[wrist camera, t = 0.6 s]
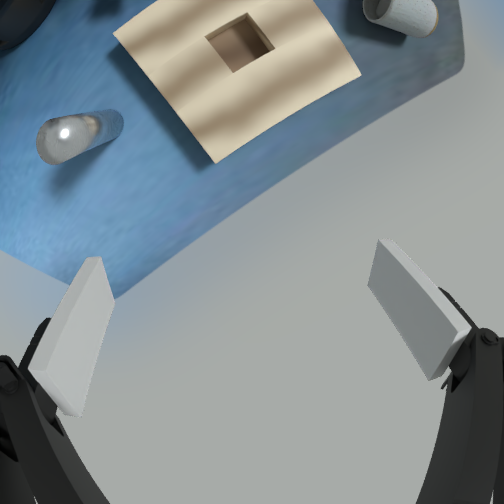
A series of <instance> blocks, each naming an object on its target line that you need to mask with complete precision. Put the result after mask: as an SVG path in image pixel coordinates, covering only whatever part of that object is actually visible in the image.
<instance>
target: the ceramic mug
mask: <svg viewBox="0 0 504 504" xmlns="http://www.w3.org/2000/svg"><path fill="white" fill-rule="evenodd" d="M363 11H364V15H365V17H366V18H367V19H368V20H369V21H371V22H372V23H376V24H379V25H382V26H385V27H388V28H390V29H393V30H396V31H399V32H402V33H404V34H406V35H409V36H412V37H417V38H424V37H427V36H428V35H430V34H431V33H432V32H433V31H434V30H435V28H436V25H437V23H438V11H437V8H436V6H435V4H434V3H433V2H432V1H431V0H363Z"/></svg>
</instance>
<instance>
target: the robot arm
mask: <svg viewBox="0 0 504 504" xmlns="http://www.w3.org/2000/svg"><path fill="white" fill-rule="evenodd" d="M54 3H55V0H0V50H6V49H10V48H12V47H14V46H16V45H18V44H20V43H21V42H22V41H24V40H25V39H26V38H28V37H29V36H30V35H31V34H32V33H33V32H34V31H35V30H36V29H37V28H38V27H39V25H40V24H41V23H42V22H43V20H44V19H45V18H46V16H47V15H48V13H49V12H50V10H51V8H52V6H53V5H54ZM368 287H369V288H370V290H371V291H372V292H373V293H374V295H375V297H376V298H377V300H378V301H379V303H380V304H381V305H382V307H383V309H384V310H385V312H386V313H387V315H388V316H389V318H390V319H391V321H392V322H393V324H394V325H395V327H396V329H397V330H398V331H399V333H400V335H401V336H402V338H403V339H404V341H405V343H406V344H407V346H408V347H409V349H410V351H411V352H412V354H413V356H414V357H415V359H416V360H417V362H418V364H419V365H420V367H421V369H422V370H423V372H424V374H425V376H426V377H427V379H428V381H430V380H433V379H435V378H438V377H440V376H442V375H443V374H444V372H445V370H446V369H447V367H448V366H449V367H450V369H451V371H452V372H451V373H450V375H449V376H448V378H447V379H446V381H445V382H444V383H443V385H442V387H441V389H443V388H444V387H445V386H446V384H447V389H446V397H445V403H444V408H443V414H442V418H441V422H440V427H439V432H438V435H437V440H436V443H435V447H434V451H433V454H432V458H431V461H430V464H429V468H428V471H427V474H426V477H425V480H424V483H423V486H422V488H421V492H420V494H419V497H418V499H417V502H416V504H490V501H491V497H492V492H493V504H504V338H503V337H502V338H499V337H498V336H497V335H496V334H495V333H494V332H493V331H491V330H490V329H487V328H481V329H479V328H478V327H477V326H476V325H475V323H474V322H473V321H472V320H471V319H470V317H469V316H468V315H467V314H466V313H465V311H464V310H463V309H462V308H460V306H459V305H458V303H457V302H455V300H454V299H453V298H452V297H451V295H450V294H449V293H447V292H446V291H444V290H443V289H442V288H440V287H436V285H435V284H434V283H433V282H432V281H431V280H430V279H429V278H428V277H427V275H426V274H425V273H424V272H423V271H422V270H421V269H420V268H419V267H418V266H417V265H416V264H415V263H414V262H413V261H412V260H411V259H410V258H409V257H408V256H407V255H406V254H405V253H404V252H403V251H402V250H401V249H400V248H399V247H398V246H397V245H396V244H395V243H394V242H393V241H392V240H391V239H380V240H378V243H377V248H376V252H375V257H374V261H373V265H372V269H371V274H370V278H369V282H368ZM114 306H115V301H114V298H113V295H112V292H111V288H110V285H109V282H108V279H107V276H106V272H105V269H104V265H103V262H102V258H101V257H87V258H86V260H85V261H84V263H83V265H82V266H81V268H80V269H79V271H78V273H77V274H76V276H75V278H74V279H73V281H72V283H71V284H70V286H69V288H68V290H67V291H66V293H65V295H64V297H63V298H62V300H61V302H60V304H59V306H58V308H57V309H56V311H55V313H54V315H53V317H52V318H46V319H45V320H44V321H43V322H42V323H41V324H40V325H39V327H38V328H37V330H36V332H35V334H34V337H33V338H32V340H31V342H30V345H29V346H28V348H27V350H26V352H25V354H24V356H23V358H22V360H21V362H20V365H19V367H17V366H16V365H15V363H14V362H13V360H12V359H11V358H10V357H9V356H7V355H1V356H0V504H36V502H35V499H36V501H37V502H38V504H110V503H109V501H108V500H107V499H106V497H105V496H104V495H103V493H102V492H101V490H100V489H99V487H98V486H97V484H96V483H95V481H94V480H93V478H92V477H91V475H90V474H89V472H88V471H87V469H86V467H85V466H84V464H83V462H82V461H81V459H80V457H79V456H78V454H77V452H76V450H75V449H74V447H73V445H72V443H71V441H70V439H69V438H68V436H67V434H66V432H65V430H64V428H63V426H62V424H61V422H60V420H59V418H58V417H57V415H56V410H57V407H58V408H59V409H60V410H61V411H62V412H63V413H64V415H69V416H75V417H82V413H83V409H84V405H85V400H86V397H87V393H88V389H89V385H90V381H91V378H92V374H93V371H94V367H95V363H96V361H97V357H98V354H99V351H100V347H101V344H102V341H103V338H104V335H105V332H106V329H107V326H108V323H109V320H110V318H111V315H112V312H113V309H114ZM34 497H35V498H34Z"/></svg>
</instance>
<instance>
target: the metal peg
mask: <svg viewBox="0 0 504 504" xmlns="http://www.w3.org/2000/svg"><path fill="white" fill-rule="evenodd" d="M123 127H124V121H123V117H122V116H121V114H120V113H119V112H118V111H116V110H111V109H110V110H102V111H94V112H87V113H81V114H75V115H69V116H63V117H58V118H53V119H50V120H48V121H46V122H45V123H44V124H43V125H42V126H41V128H40V130H39V132H38V135H37V139H36V146H37V151H38V154H39V156H40V157H41V159H42V160H43V161H45V162H46V163H48V164H51V165H57V164H60V163H62V162H64V161H67V160H69V159H71V158H73V157H75V156H77V155H79V154H81V153H83V152H85V151H88V150H90V149H92V148H94V147H96V146H99V145H101V144H103V143H106V142H108V141H110V140H113V139H115V138H117V137H118V136H119V135H120V134H121V132H122V130H123Z"/></svg>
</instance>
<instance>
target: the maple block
mask: <svg viewBox="0 0 504 504" xmlns="http://www.w3.org/2000/svg"><path fill="white" fill-rule="evenodd" d="M113 34H114V35H115V36H116V38H117V39H118V40H119V41H120V43H121V44H122V45H123V46H124V47H125V49H126V50H127V51H128V52H129V54H130V55H131V56H132V57H133V59H134V60H135V61H136V62H137V64H138V65H139V66H140V67H141V69H142V70H143V71H144V72H145V74H146V75H147V76H148V77H149V79H150V80H151V81H152V82H153V84H154V85H155V86H156V87H157V89H158V90H159V91H160V92H161V94H162V95H163V96H164V98H165V99H166V100H167V101H168V103H169V104H170V105H171V106H172V108H173V109H174V110H175V112H176V113H177V114H178V115H179V117H180V118H181V119H182V121H183V122H184V123H185V124H186V126H187V127H188V128H189V130H190V131H191V132H192V134H193V135H194V136H195V137H196V139H197V140H198V141H199V143H200V144H201V145H202V147H203V148H204V149H205V151H206V152H207V153H208V155H209V156H210V157H211V158H212V160H213V161H214V162H215V164H216V163H218V162H219V161H220V160H222V159H223V158H225V157H226V156H228V155H229V154H231V153H232V152H234V151H235V150H236V149H238V148H239V147H241V146H242V145H244V144H245V143H247V142H248V141H250V140H251V139H253V138H255V137H256V136H258V135H259V134H261V133H262V132H264V131H265V130H267V129H269V128H270V127H272V126H273V125H275V124H277V123H278V122H280V121H281V120H283V119H285V118H286V117H288V116H290V115H291V114H293V113H295V112H296V111H298V110H300V109H301V108H303V107H305V106H306V105H308V104H310V103H312V102H313V101H315V100H317V99H319V98H320V97H322V96H324V95H326V94H328V93H329V92H331V91H333V90H335V89H337V88H339V87H340V86H342V85H344V84H346V83H348V82H350V81H352V80H354V79H356V78H358V77H360V76H361V73H360V71H359V70H358V68H357V66H356V65H355V63H354V61H353V59H352V58H351V56H350V54H349V53H348V51H347V50H346V48H345V46H344V45H343V43H342V42H341V40H340V39H339V37H338V36H337V34H336V33H335V31H334V30H333V28H332V27H331V25H330V24H329V22H328V21H327V19H326V18H325V17H324V15H323V14H322V12H321V11H320V10H319V8H318V7H317V6H316V4H315V3H314V2H313V0H158V1H156V2H155V3H153V4H152V5H150V6H149V7H147V8H146V9H144V10H143V11H142V12H140V13H139V14H137V15H136V16H135V17H133V18H132V19H131V20H129V21H128V22H127V23H125V24H124V25H123V26H122V27H120V28H119V29H118V30H117V31H115V32H114V33H113Z"/></svg>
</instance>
